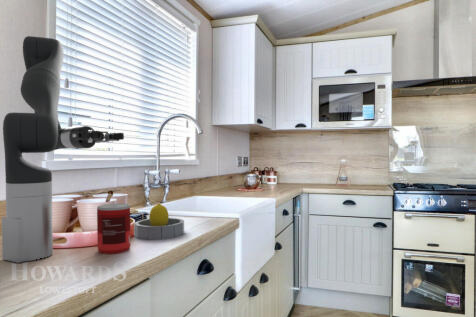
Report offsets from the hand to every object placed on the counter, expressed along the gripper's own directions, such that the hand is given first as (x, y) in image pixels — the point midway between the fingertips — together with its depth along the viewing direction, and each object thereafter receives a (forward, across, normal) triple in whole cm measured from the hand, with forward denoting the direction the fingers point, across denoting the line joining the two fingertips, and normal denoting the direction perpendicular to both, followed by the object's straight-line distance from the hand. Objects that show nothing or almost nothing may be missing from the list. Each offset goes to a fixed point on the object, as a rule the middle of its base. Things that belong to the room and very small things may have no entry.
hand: (112, 135), depth 111 cm
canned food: (+19, -17, +30) cm, 39 cm away
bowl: (+17, +2, +30) cm, 34 cm away
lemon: (+17, +2, +29) cm, 34 cm away
